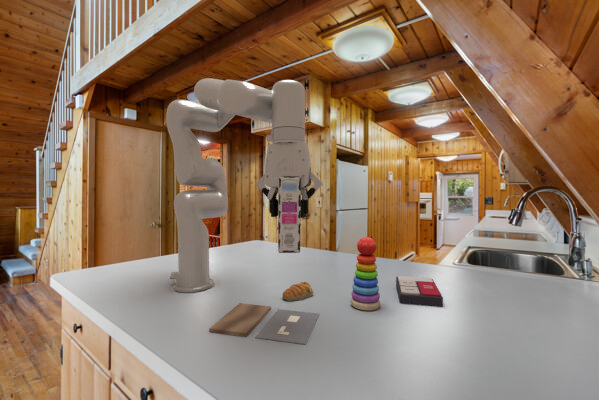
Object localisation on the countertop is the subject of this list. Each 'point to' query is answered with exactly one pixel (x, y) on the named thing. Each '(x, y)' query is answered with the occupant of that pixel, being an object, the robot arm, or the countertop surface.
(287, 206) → the candy bar box
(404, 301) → the dark flat boxy piece
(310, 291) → the pastry
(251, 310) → the walnut board
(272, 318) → the tile
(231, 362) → the countertop surface
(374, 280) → the stacking toy
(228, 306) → the countertop surface
